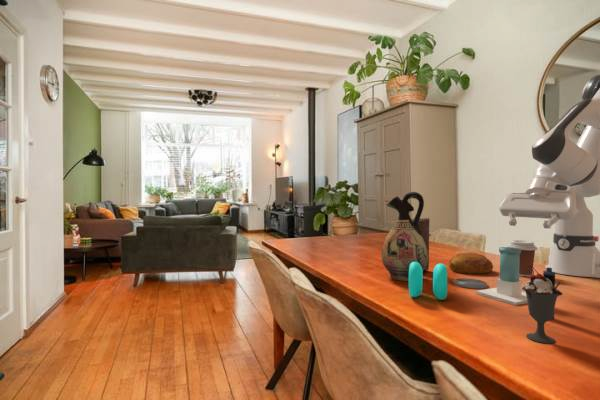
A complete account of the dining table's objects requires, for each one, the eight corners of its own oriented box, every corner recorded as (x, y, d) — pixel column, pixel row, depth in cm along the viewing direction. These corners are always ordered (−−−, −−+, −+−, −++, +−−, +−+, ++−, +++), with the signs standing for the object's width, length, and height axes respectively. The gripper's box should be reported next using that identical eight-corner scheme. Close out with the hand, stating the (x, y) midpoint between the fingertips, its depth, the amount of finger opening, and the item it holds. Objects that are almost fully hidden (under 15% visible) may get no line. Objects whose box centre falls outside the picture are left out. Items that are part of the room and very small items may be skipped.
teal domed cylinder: (506, 276, 106) (507, 246, 106) (524, 281, 101) (525, 249, 101) (494, 278, 104) (494, 247, 103) (512, 283, 99) (512, 250, 98)
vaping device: (550, 320, 83) (551, 269, 83) (527, 313, 88) (528, 265, 88) (557, 318, 85) (558, 268, 84) (533, 312, 89) (534, 264, 89)
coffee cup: (504, 274, 129) (504, 241, 129) (510, 270, 136) (511, 239, 136) (534, 278, 123) (534, 244, 123) (539, 274, 130) (539, 241, 129)
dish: (467, 279, 122) (467, 277, 122) (494, 286, 113) (494, 284, 113) (446, 282, 118) (446, 280, 118) (472, 290, 109) (472, 287, 109)
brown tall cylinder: (430, 273, 131) (430, 219, 130) (409, 272, 132) (409, 218, 132) (427, 269, 138) (427, 217, 138) (407, 268, 140) (407, 217, 139)
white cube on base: (503, 288, 110) (503, 273, 110) (543, 299, 100) (544, 282, 99) (476, 293, 105) (476, 277, 105) (515, 305, 94) (515, 287, 94)
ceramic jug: (377, 281, 120) (378, 191, 119) (384, 271, 134) (385, 191, 133) (431, 286, 113) (432, 192, 113) (433, 275, 128) (434, 191, 127)
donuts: (447, 305, 95) (447, 267, 95) (408, 301, 98) (408, 264, 98) (445, 294, 104) (446, 260, 104) (410, 291, 108) (410, 258, 107)
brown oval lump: (498, 281, 129) (502, 259, 129) (455, 274, 130) (459, 253, 129) (479, 270, 144) (482, 251, 143) (440, 265, 144) (444, 245, 144)
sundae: (513, 332, 76) (514, 262, 76) (543, 331, 77) (544, 262, 76) (536, 346, 70) (538, 269, 69) (568, 345, 70) (570, 269, 70)
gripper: (504, 186, 121) (490, 216, 116) (578, 186, 105) (565, 221, 99) (510, 199, 124) (496, 229, 119) (582, 201, 108) (570, 236, 102)
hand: (528, 225), depth 109 cm, fingers open, 8 cm apart
